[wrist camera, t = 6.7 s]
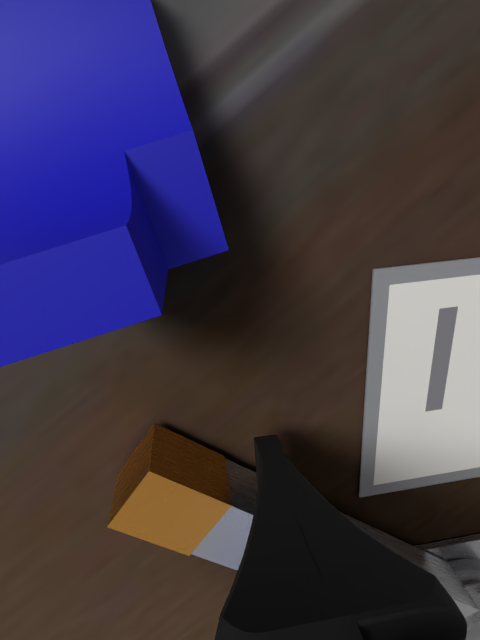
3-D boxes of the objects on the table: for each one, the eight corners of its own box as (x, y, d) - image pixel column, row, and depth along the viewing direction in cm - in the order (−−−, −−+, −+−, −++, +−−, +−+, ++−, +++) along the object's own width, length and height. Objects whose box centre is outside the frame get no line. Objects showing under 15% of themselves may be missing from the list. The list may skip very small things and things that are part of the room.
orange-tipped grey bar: (501, 571, 20) (540, 620, 18) (447, 619, 21) (477, 670, 18) (165, 407, 13) (162, 453, 11) (108, 486, 14) (95, 542, 12)
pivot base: (489, 604, 21) (493, 610, 21) (386, 625, 21) (389, 632, 20) (510, 527, 19) (515, 532, 19) (396, 549, 18) (399, 554, 18)
